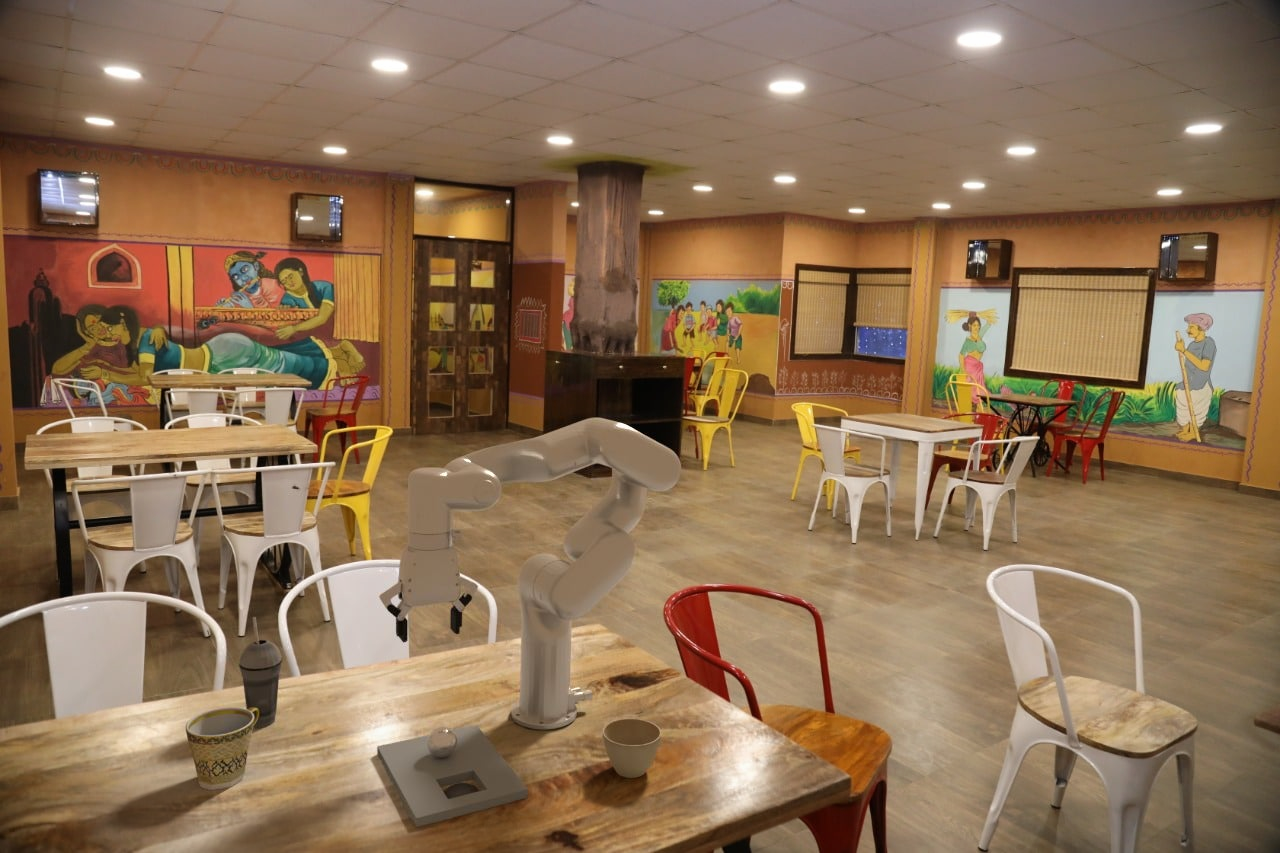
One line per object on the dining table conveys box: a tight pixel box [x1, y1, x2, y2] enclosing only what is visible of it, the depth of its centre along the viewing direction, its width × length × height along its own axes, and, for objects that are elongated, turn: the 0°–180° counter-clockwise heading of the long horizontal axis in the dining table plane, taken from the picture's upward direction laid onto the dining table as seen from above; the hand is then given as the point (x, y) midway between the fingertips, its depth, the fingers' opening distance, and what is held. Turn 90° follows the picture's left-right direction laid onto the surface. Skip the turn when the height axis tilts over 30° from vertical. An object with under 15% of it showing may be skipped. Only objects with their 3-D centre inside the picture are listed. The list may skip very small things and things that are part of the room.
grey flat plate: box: [376, 724, 529, 828], centre depth 145 cm, size 18×24×2 cm
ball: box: [427, 726, 457, 758], centre depth 148 cm, size 5×5×5 cm
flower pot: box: [602, 717, 662, 779], centre depth 148 cm, size 10×10×7 cm
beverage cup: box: [238, 616, 283, 729], centre depth 159 cm, size 7×7×20 cm
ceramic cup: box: [185, 706, 259, 791], centre depth 142 cm, size 13×10×10 cm
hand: (429, 635), depth 152 cm, fingers open, 8 cm apart
